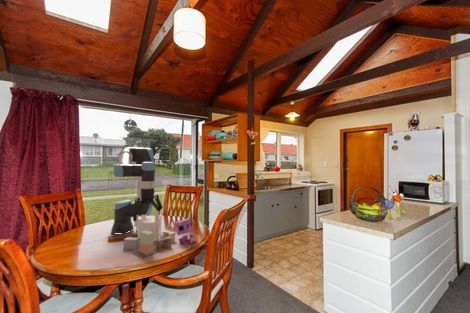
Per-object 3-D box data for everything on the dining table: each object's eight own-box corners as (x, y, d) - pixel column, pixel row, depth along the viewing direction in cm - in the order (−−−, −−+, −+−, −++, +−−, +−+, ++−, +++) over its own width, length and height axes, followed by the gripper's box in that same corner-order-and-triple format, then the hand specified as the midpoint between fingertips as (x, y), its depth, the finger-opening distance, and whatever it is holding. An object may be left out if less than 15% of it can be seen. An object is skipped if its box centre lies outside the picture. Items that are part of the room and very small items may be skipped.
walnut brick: (158, 250, 133) (159, 241, 133) (156, 248, 136) (156, 239, 136) (171, 247, 138) (171, 238, 138) (168, 245, 141) (168, 236, 141)
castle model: (136, 242, 145) (137, 220, 145) (141, 235, 159) (141, 214, 159) (159, 241, 148) (159, 219, 148) (161, 234, 162) (162, 214, 162)
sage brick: (139, 241, 129) (139, 231, 129) (145, 239, 133) (145, 230, 133) (147, 244, 125) (147, 234, 125) (153, 242, 128) (153, 232, 128)
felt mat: (130, 254, 127) (130, 253, 127) (149, 247, 137) (149, 246, 137) (142, 259, 120) (142, 258, 120) (161, 252, 130) (161, 251, 130)
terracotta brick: (139, 251, 129) (139, 241, 130) (145, 249, 133) (145, 239, 133) (147, 255, 125) (147, 244, 125) (153, 253, 128) (153, 242, 128)
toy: (190, 243, 142) (184, 221, 144) (179, 246, 143) (173, 224, 145) (196, 238, 152) (191, 217, 154) (186, 241, 154) (181, 220, 156)
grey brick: (123, 249, 134) (123, 239, 134) (127, 246, 138) (127, 237, 138) (135, 249, 134) (136, 240, 134) (139, 247, 138) (139, 237, 138)
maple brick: (162, 240, 150) (162, 231, 150) (167, 238, 153) (167, 230, 153) (170, 242, 146) (170, 233, 146) (174, 241, 149) (175, 232, 149)
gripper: (131, 191, 117) (130, 230, 117) (169, 186, 138) (168, 220, 138) (123, 189, 121) (122, 227, 121) (161, 185, 142) (160, 217, 142)
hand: (146, 223), depth 129 cm, fingers open, 13 cm apart
